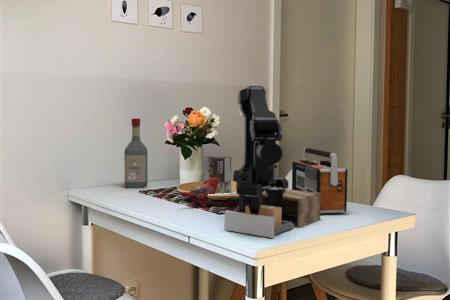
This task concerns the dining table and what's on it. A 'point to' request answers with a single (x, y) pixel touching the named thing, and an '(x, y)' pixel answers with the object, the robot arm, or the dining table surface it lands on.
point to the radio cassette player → (322, 180)
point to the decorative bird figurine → (203, 191)
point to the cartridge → (269, 213)
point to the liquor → (136, 160)
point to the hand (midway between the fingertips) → (263, 216)
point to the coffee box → (218, 172)
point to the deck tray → (254, 224)
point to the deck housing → (299, 205)
